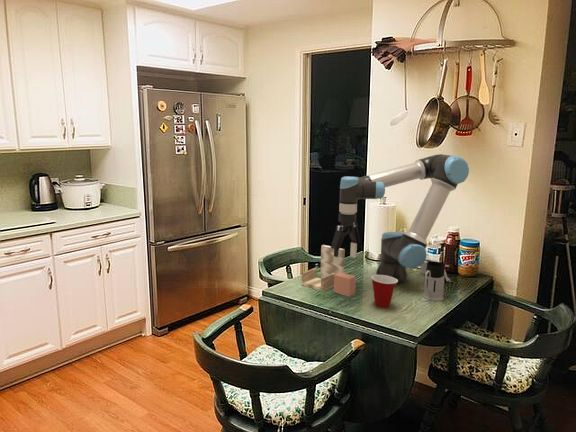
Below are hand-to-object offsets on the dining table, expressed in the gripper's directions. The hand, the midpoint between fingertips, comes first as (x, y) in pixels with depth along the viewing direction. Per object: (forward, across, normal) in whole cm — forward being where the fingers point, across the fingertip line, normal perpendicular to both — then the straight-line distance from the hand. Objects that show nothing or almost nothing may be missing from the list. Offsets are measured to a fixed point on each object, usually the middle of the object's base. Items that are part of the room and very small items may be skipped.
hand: (345, 260), depth 203 cm
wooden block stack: (+15, -4, -14) cm, 21 cm away
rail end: (+15, 0, 0) cm, 15 cm away
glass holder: (+15, -19, +32) cm, 40 cm away
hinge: (+15, -47, +22) cm, 54 cm away
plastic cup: (+15, +2, +20) cm, 25 cm away
